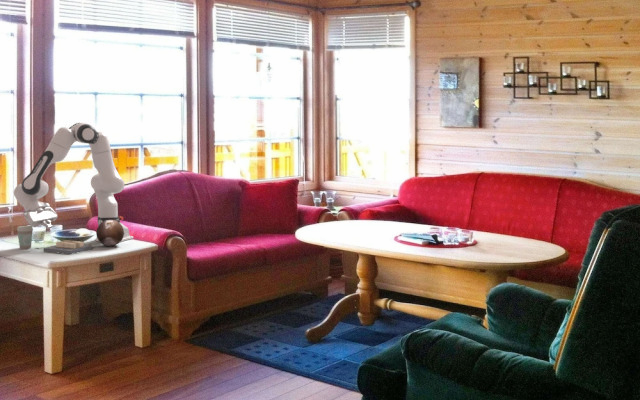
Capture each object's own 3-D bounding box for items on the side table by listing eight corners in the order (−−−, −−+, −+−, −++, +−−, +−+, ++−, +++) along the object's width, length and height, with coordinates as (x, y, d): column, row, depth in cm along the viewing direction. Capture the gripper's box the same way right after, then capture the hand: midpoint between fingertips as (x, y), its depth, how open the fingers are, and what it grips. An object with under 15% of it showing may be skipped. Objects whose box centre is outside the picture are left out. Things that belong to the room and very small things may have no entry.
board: (65, 246, 457) (65, 242, 456) (92, 249, 450) (92, 245, 450) (43, 251, 440) (43, 248, 440) (70, 254, 433) (70, 250, 433)
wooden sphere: (98, 249, 450) (97, 222, 448) (95, 244, 464) (94, 218, 462) (126, 247, 456) (125, 221, 454) (122, 243, 469) (121, 217, 468)
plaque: (66, 240, 450) (83, 241, 445) (66, 244, 450) (83, 246, 446) (56, 242, 442) (74, 244, 438) (56, 247, 443) (74, 249, 438)
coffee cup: (19, 250, 444) (19, 228, 442) (15, 247, 451) (14, 226, 449) (35, 248, 449) (35, 227, 448) (31, 246, 456) (30, 225, 454)
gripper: (24, 208, 440) (40, 226, 438) (50, 203, 459) (65, 221, 456) (18, 215, 442) (33, 234, 440) (44, 210, 461) (59, 228, 459)
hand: (50, 227), depth 448 cm, fingers closed
